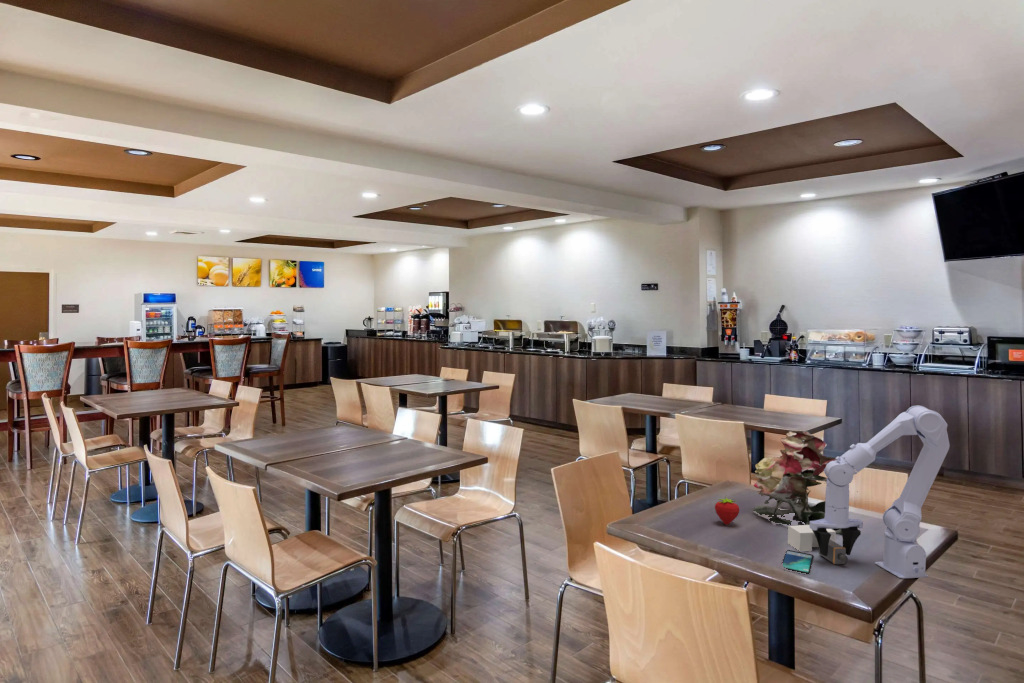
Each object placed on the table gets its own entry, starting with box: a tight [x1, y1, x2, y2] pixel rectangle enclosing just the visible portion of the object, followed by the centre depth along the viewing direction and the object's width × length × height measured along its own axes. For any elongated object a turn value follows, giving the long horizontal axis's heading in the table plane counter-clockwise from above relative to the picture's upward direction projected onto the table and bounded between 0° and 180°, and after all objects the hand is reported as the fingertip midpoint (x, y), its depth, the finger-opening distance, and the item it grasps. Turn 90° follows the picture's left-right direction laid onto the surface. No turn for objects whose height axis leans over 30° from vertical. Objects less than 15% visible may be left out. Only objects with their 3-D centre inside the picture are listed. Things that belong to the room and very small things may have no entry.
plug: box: [818, 540, 848, 565], centre depth 167 cm, size 9×3×4 cm, turn 7°
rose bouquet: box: [752, 429, 859, 535], centre depth 200 cm, size 26×29×30 cm
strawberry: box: [714, 496, 740, 526], centre depth 195 cm, size 6×8×10 cm
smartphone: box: [781, 549, 814, 575], centre depth 167 cm, size 7×1×15 cm
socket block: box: [787, 524, 837, 552], centre depth 177 cm, size 6×11×6 cm, turn 97°
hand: (835, 554), depth 167 cm, fingers open, 6 cm apart
